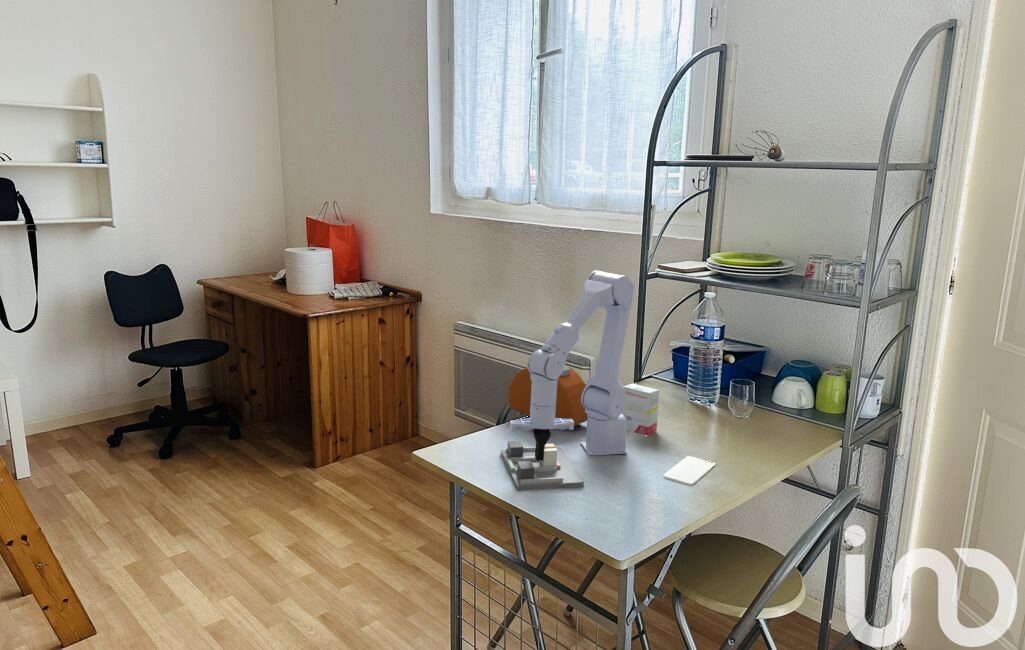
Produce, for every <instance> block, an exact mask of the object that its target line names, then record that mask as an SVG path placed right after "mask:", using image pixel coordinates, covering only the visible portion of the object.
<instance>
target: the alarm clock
mask: <svg viewBox="0 0 1025 650" xmlns="http://www.w3.org/2000/svg"><path fill="white" fill-rule="evenodd" d="M585 387H586V383H585V381H584V380H583V378H582V377H581V376H580V375H579V374H578V372H576V370H575V369H573V368H572V367H570V366H569V365H567V364H565V366H564V371H563V373H562V374H561V375H560V376H559V377H558V380H557V396H556V412H555V418H561V419H572V420H573V421H574V427H576V426H579V425H580V424H583V423H587V413H585V408H584V407H583V406H582V404H581V396H582V393H583V391H584V389H585ZM531 389H532V381H531V379H530V372H529V370H528V368H527V366H526V367H524V368H522V369H520V370H519V371H517V372H516V373H515V374H514V376H513V377H512V379H511V380H510V384H509V386H508V389H507V390H508V391H507V400H508V406H509V407H510V409H511V410H513V411H515V412H516V415H517V416H523V415H526V416H529V417H530V408H531ZM558 430H559V431H565V430H566V429H558Z"/></svg>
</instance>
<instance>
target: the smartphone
mask: <svg viewBox="0 0 1025 650" xmlns="http://www.w3.org/2000/svg"><path fill="white" fill-rule="evenodd" d="M702 459H703V458H698V457H695V456H691V455H687V456H686V457H685V458H684V457H683V459H682V460H680V461H679V462H678V463H676V464H674V466H672V468H670V469H669V470H668V471H666V472H665V473H663V478H664V479H666V480H670V481H673V482H676V483H680V484H684V485H687V486H693V485H695V484H696V483H697V482H698V481H700V480H701V479H702V478H703V477H704V476H705V475H707V473H709V472H710V471H711V470H712V469H713V468H714V467H715V466H716V465H715V464H716V463H715V462H714V461H710V462H708V461H709V460H707V461H705V460H706V459H703V460H702ZM706 462H707V463H706ZM711 462H713V463H711ZM713 466H714V467H713ZM712 467H713V468H712ZM711 468H712V469H711ZM709 470H710V471H709ZM702 476H703V477H702ZM701 477H702V478H701ZM700 478H701V479H700ZM699 479H700V480H699Z"/></svg>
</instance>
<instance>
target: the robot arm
mask: <svg viewBox="0 0 1025 650" xmlns="http://www.w3.org/2000/svg"><path fill="white" fill-rule="evenodd" d="M634 291H635V285H634V283H633V281H632V279H631V278H630V276H627V275H621V274H616V273H615V274H614V273H611V272H604V271H601V270H593V271H592V272H590V274H589V275H588V277H587V279H586V281H584V283H583V293H582V295H581V297H580V299H579V300H578V301H577V303H576V305H575V307H574V308H573V310H572V312H571V314H570V315H569V317H568V319H567V320H566V322H563V323H560V324H559V323H558V324H557V326H555V328H554V329H553V332H552V333H551V334H550V336H549V337H548V338H547V339H546V341H545V343H543V345H542V346H541V348H540V349H537V350H535V351H533V352H532V353H531V354H530V356H529V358H528V361H526V367H527V368H528V370H529V372H530V379H531V381H532V389H531V408H530V416H529V418H528V417H527V418H522V419H516V420H509V421H510V422H509V430H510V431H511V432H516V431H531V432H532V435H533V437H534V439H535V446H536V448H535V458H536V460H537V461H540V460H541V461H543V457H544V447H545V445H546V444H548V441H549V440H550V438H551V437H552V432H551V430H559V429H565V430H569V431H572V430H573V431H574V429H575V426H574V421H573V420H572V419H561V418H555V412H556V396H557V380H558V377H559V376H560V375H561V374H562V373H563V371H564V366H565V365H566V362H567V359H568V358H567V356H568V355H570V352H571V351H572V350H573V348H574V347H575V345H576V344H577V342H578V341H579V340H580V339H579V338H580V336H579V331H580V329H582V327H583V326H584V325H585V324H586V322H587V321H588V320H589V319H590V318H591V316H592V315H593V314H594V313H595V312H596V310H597V309H598V308H599V307H600V308H601V307H602V308H604V310H605V311H606V315H605V319H604V320H605V321H604V327H603V332H602V337H601V343H600V348H599V353H598V359H597V364H596V371H595V374H594V375H592V376H591V377H590V378H587V380H586V383H585V385H586V387H585V389H584V391H583V393H582V396H581V404H582V406H583V407H584V408H585V413H587V421H586V437H585V438H586V439H585V441H584V440H583V441H581V442H580V445H582V447H583V449H584V451H585V452H586V453H587V454H588V455H589V456H607V455H621V454H622V455H625V454H627V450H626V448H627V447H626V446H627V434H628V433H627V432H628V431H627V424H626V419H625V417H624V415H623V414H622V412H623V410H624V407H625V398H624V393H625V388H624V385H623V384H622V382H621V381H620V380H619V373H620V367H621V361H622V358H623V357H622V356H623V351H624V345H625V339H626V334H627V331H628V329H627V328H628V325H629V324H628V323H629V317H630V313H631V308H632V302H633V297H634Z"/></svg>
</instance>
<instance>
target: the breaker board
mask: <svg viewBox="0 0 1025 650" xmlns="http://www.w3.org/2000/svg"><path fill="white" fill-rule="evenodd" d="M555 447H556V449H557V467H556V466H543V465H542V463H541V461H537V460H536V458H535V448H536V445H535V446H523V443H522V441H521V440H507V447H505V449H501V450H500V455H501V458H502V460H503V463H504V465H505V468H506V470H507V471H508V474H509V476H510V480H511V481H512V483H513V485H514V488H515V490H516V492H528V491H540V490H556V489H557V490H559V489H572V488H573V489H574V488H584V486H585V481H584V479H583V478H582V476H581V475H580V473H579V471H577V468H576V467H575V466H574V464H573V462H572V461H571V460H570V458H569V456H568V455H567V453H566V452H565V450H564V448H563V447H562V446H555Z"/></svg>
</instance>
